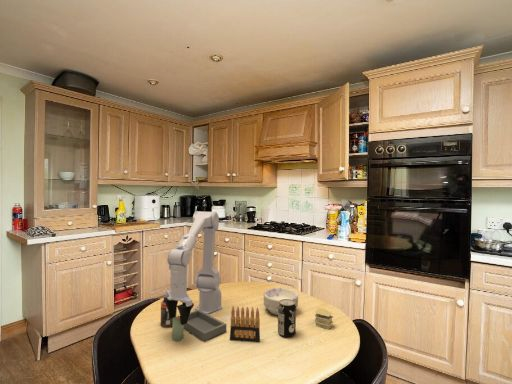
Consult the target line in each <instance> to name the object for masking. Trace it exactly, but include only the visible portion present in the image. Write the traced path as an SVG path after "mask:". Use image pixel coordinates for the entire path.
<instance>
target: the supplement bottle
mask: <svg viewBox="0 0 512 384" xmlns="http://www.w3.org/2000/svg"><path fill="white" fill-rule="evenodd" d="M167 297H168V296H166V294H164V295H163V300H162V301H161V302H160V326H161V327H164V328H165V327H166V328H170V327H172V325H173V318H174V317H172V318H170V317H169V313H168V309H167V306H166V303H165V302H164V298H167ZM175 317H177V315H176V316H175Z"/></svg>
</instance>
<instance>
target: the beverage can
mask: <svg viewBox="0 0 512 384" xmlns="http://www.w3.org/2000/svg"><path fill="white" fill-rule="evenodd" d="M296 315H297V308H296V305H295V302H294V301H293V300H290V299H282V300H280V301H279V305H278V315H277V332H278V335H280V337H282V338H292V337H294V335H296V332H297V331H296V329H297V326H296V325H297V322H296V321H297V318H296V317H297V316H296Z"/></svg>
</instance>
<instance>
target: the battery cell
mask: <svg viewBox="0 0 512 384" xmlns="http://www.w3.org/2000/svg"><path fill="white" fill-rule="evenodd" d="M171 327H172V334H171V335H172V341H174V342H179V341H182V340H184V339H185V329H184V325H181V322H180V315H176V317H174V318H173V325H172V326H171Z"/></svg>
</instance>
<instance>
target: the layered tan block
mask: <svg viewBox="0 0 512 384" xmlns="http://www.w3.org/2000/svg"><path fill="white" fill-rule="evenodd" d="M314 311H315V312H314V313H315V314H314V315H315V316H314V317H315V320H314V322H315V326H316V327H319V328H323V329H326V330H329V329H330V328H332V327H333V323H334V322H333V318H334V316H333V314H334V313H333V312H331V311H329V310H327V309H325V308H322V307H319V308H316V310H314Z"/></svg>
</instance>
